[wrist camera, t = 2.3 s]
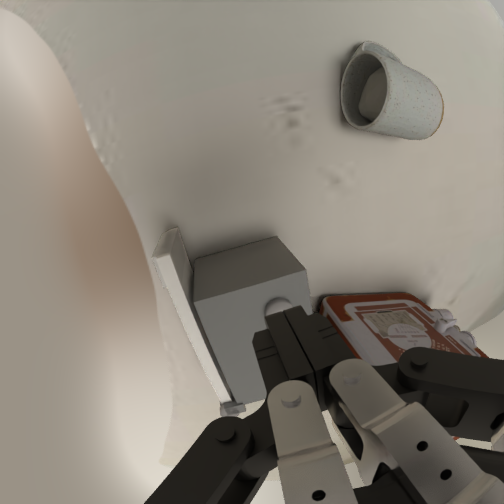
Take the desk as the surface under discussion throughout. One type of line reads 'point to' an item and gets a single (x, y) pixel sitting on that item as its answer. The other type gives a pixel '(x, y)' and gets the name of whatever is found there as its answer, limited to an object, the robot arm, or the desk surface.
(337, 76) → the desk surface
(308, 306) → the block
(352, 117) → the ceramic mug
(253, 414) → the robot arm
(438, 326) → the cine camera
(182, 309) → the side door
